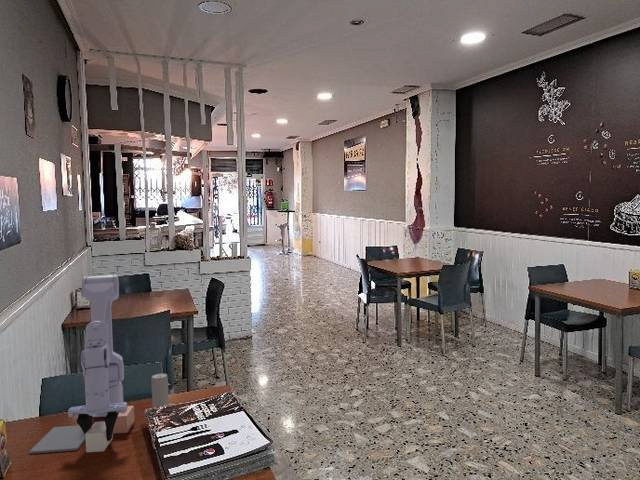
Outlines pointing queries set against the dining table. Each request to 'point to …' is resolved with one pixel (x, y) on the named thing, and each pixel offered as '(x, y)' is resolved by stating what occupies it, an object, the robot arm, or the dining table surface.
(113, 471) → the dining table surface
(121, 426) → the terracotta brick
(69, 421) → the dining table surface
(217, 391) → the dining table surface
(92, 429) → the white brick
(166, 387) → the beverage can
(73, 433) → the base mat
